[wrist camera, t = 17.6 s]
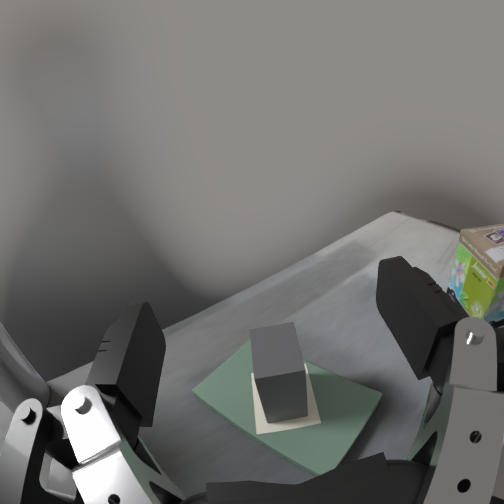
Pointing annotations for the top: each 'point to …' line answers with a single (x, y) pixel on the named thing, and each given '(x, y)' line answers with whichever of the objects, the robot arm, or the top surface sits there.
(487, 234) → the tea box
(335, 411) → the board
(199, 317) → the top surface
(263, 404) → the dark grey rectangular block
